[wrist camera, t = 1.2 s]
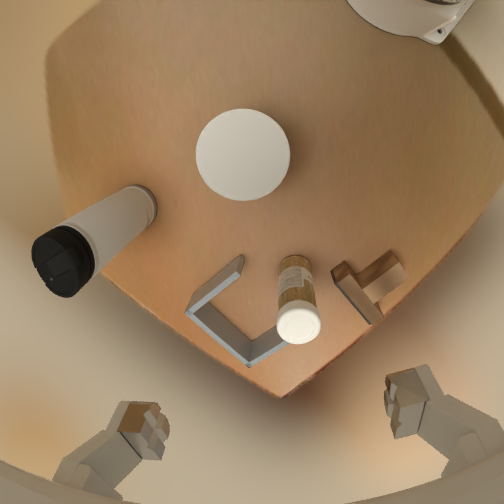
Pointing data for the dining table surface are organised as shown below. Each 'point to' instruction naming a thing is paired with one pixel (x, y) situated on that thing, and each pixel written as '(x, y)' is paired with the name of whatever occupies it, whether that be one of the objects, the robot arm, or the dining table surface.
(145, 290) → the dining table surface
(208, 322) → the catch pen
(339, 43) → the dining table surface
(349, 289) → the scraper
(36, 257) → the travel mug
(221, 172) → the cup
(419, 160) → the dining table surface
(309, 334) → the sprinkles bottle
